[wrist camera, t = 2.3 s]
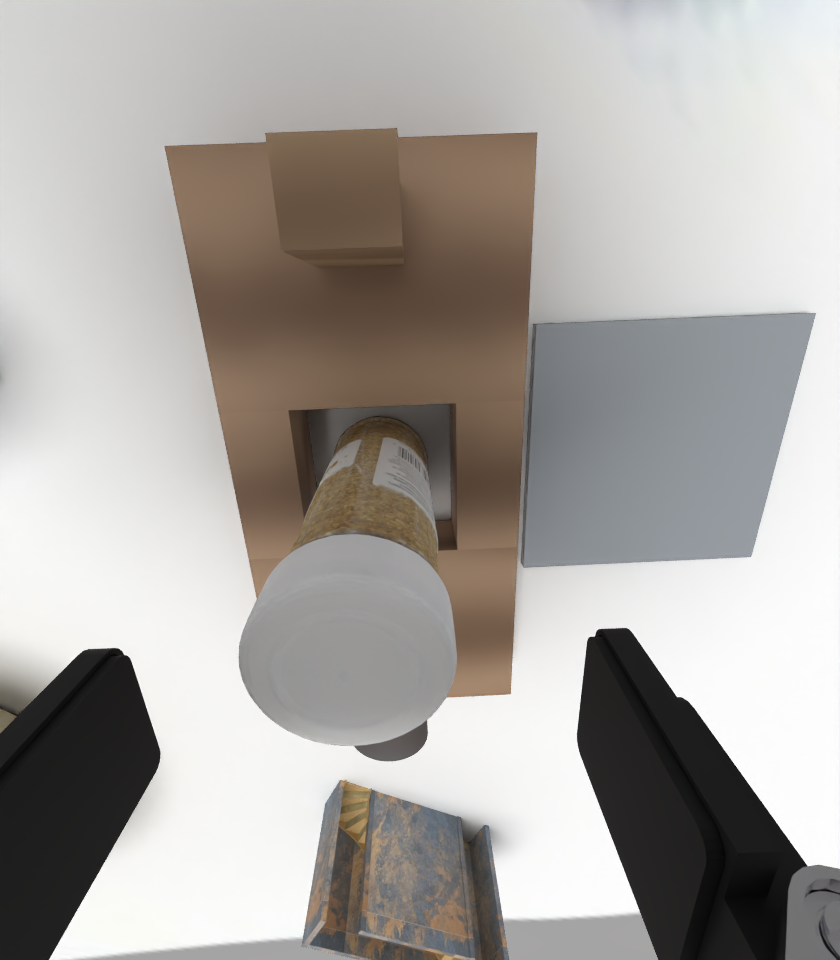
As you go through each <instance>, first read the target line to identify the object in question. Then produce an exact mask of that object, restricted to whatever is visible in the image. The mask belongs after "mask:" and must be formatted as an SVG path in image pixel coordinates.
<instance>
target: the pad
mask: <svg viewBox="0 0 840 960" xmlns="http://www.w3.org/2000/svg"><path fill="white" fill-rule="evenodd" d="M815 315H816V313H794V314H770V315H745V316H721V317H697V318H672V319H648V320H624V321H599V322H575V323H551V324H533V342H532V362H531V381H530V401H529V420H528V440H527V459H526V479H525V498H524V518H523V537H522V557H521V563H522V565H523V568H525V567H546V566H567V565H589V564H610V563H631V562H653V561H674V560H695V559H717V558H738V557H751V555H752V552H753V548H754V544H755V540H756V537H757V533H758V529H759V525H760V522H761V518H762V514H763V510H764V507H765V503H766V499H767V495H768V491H769V488H770V484H771V480H772V476H773V473H774V469H775V465H776V461H777V458H778V454H779V450H780V446H781V443H782V439H783V435H784V431H785V428H786V424H787V420H788V416H789V413H790V409H791V405H792V401H793V397H794V394H795V390H796V386H797V382H798V379H799V375H800V371H801V367H802V364H803V360H804V356H805V352H806V349H807V345H808V341H809V337H810V334H811V330H812V326H813V322H814V319H815Z"/></svg>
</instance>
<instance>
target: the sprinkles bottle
mask: <svg viewBox="0 0 840 960" xmlns="http://www.w3.org/2000/svg"><path fill="white" fill-rule="evenodd" d="M427 470H428V457H427V454H426V449H425V447H424V445H423V443H422V440H421V439H420V437H419V436H418V435H417V434H416V433H415V432H414V431H413V430H412V429H411V428H410V427H409V426H407V425H406V424H404V423H402V422H400V421H397V420H395V419H390V418H384V417H372V418H368V419H365V420H362V421H360V422H358V423H356V424H355V425H353V426H351V427H350V428H349V429H347V430H346V431H345V432H344V433H343V435H342V436H341V438H340V440H339V441H338V443H337V445H336V448H335V451H334V455H333V458H332V460H331V461H330V463H329V465H328V467H327V469H326V471H325V474H324V476H323V478H322V480H321V482H320V484H319V487H318V489H317V491H316V493H315V495H314V497H313V500H312V502H311V504H310V506H309V508H308V511H307V513H306V516H305V519H304V523H303V525H302V528H301V530H300V532H299V534H298V536H297V538H296V540H295V543H294V544H293V546H292V549H291V551H290V553H289V555H288V556H287V557H285V558H284V559H283V560H282V561H281V562H280V563H279V564H278V565H277V566H276V567H275V569H274V570H273V571H272V572H271V574H270V575H269V577H268V579H267V580H266V582H265V584H264V586H263V588H262V590H261V592H260V594H259V596H258V598H257V600H256V602H255V605H254V607H253V609H252V611H251V613H250V616H249V618H248V620H247V622H246V625H245V627H244V630H243V633H242V636H241V640H240V645H239V668H240V672H241V676H242V680H243V682H244V685H245V687H246V689H247V691H248V693H249V695H250V696H251V698H252V699H253V701H254V702H255V703H256V704H257V706H258V707H259V708H260V709H261V710H262V711H263V713H264V714H265V715H267V716H268V717H269V718H270V719H271V720H272V721H274V722H275V723H276V724H278V725H279V726H281V727H283V728H284V729H286V730H287V731H290V732H292V733H294V734H296V735H298V736H301V737H303V738H306V739H309V740H312V741H315V742H320V743H324V744H331V745H340V746H359V745H369V744H375V743H381V742H384V741H388V740H391V739H394V738H396V737H399V736H401V735H404V734H406V733H408V732H409V731H411V730H413V729H415V728H416V727H418V726H420V725H421V724H422V723H424V722H425V721H426V720H427V719H429V718H430V717H431V716H432V715H433V714H434V713H435V712H436V710H437V709H438V708H439V707H440V705H441V704H442V703H443V701H444V700H445V699H446V697H447V695H448V693H449V691H450V688H451V686H452V683H453V681H454V676H455V671H456V666H457V651H456V641H455V631H454V623H453V615H452V609H451V603H450V598H449V595H448V592H447V590H446V587H445V585H444V584H443V582H442V580H441V578H440V573H439V565H438V538H437V531H436V525H435V517H434V511H433V503H432V496H431V489H430V482H429V476H428V472H427Z"/></svg>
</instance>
